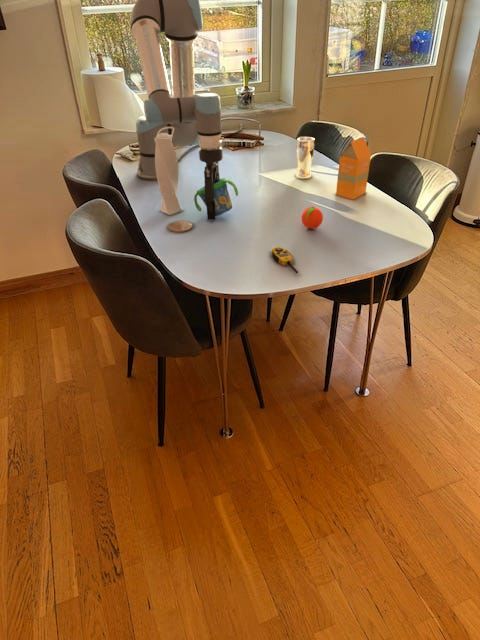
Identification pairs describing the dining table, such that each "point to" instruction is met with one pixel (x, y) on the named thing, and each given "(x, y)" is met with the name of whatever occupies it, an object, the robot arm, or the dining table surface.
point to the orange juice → (353, 170)
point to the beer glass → (304, 156)
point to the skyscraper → (167, 172)
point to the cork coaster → (180, 226)
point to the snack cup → (218, 196)
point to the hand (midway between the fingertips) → (213, 213)
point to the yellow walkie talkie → (283, 257)
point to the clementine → (312, 217)
